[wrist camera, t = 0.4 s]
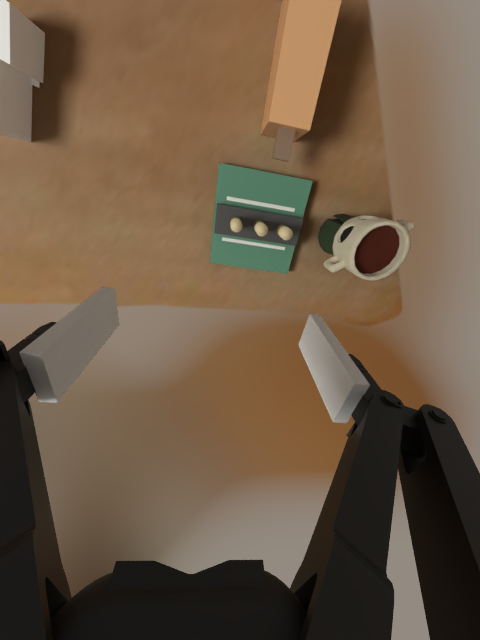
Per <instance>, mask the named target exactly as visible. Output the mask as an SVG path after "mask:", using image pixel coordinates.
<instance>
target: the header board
mask: <svg viewBox="0 0 480 640" xmlns="http://www.w3.org/2000/svg"><path fill="white" fill-rule="evenodd" d="M312 182H313V181H310V180H305V179H300V178H295V177H290V176H285V175H280V174H274V173H269V172H264V171H259V170H254V169H249V168H244V167H239V166H234V165H229V164H223V163H219V170H218V180H217V191H216V202H215V212H214V223H213V233H212V244H211V255H210V263H216V264H223V265H230V266H237V267H244V268H251V269H258V270H265V271H272V272H279V273H286V274H288V271H289V267H290V263H291V260H292V256H293V252H294V249H295V246H296V245H297V242H298V238H299V234H300V231H301V227H302V223H303V220H304V219H303V215H304V212H305V208H306V204H307V201H308V197H309V193H310V190H311V186H312Z"/></svg>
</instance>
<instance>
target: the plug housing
mask: <svg viewBox="0 0 480 640" xmlns="http://www.w3.org/2000/svg"><path fill="white" fill-rule="evenodd" d="M340 5H341V0H283V2H282V5H281V12H280V18H279V24H278V30H277V37H276V43H275V49H274V55H273V61H272V68H271V74H270V80H269V86H268V93H267V99H266V105H265V111H264V118H263V124H262V130H261V135H265V136H270V137H274V138H276V140H275V146H274V151H273V156H272V159H277V160H282V161H287V162H288V161H289V157H290V153H291V148H292V143H293V142H295V141H296V140H297V139H299V138H300V137H302V136H303V135H304V134H306V133H307V132H309V131H310V128H311V124H312V120H313V116H314V112H315V108H316V104H317V99H318V95H319V91H320V87H321V83H322V79H323V75H324V71H325V66H326V62H327V58H328V54H329V50H330V46H331V42H332V38H333V33H334V29H335V25H336V21H337V17H338V13H339V9H340Z"/></svg>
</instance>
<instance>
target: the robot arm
mask: <svg viewBox="0 0 480 640" xmlns="http://www.w3.org/2000/svg"><path fill="white" fill-rule="evenodd" d="M118 326H119V319H118V310H117V302H116V293H115V288H107V287H102V288H100V289H99V290H98V291H96V292H95V293H94V294H93V295H91V296H90V297H89V298H88V299H86V300H85V301H84V302H83V303H81V304H80V305H79V306H77V307H76V308H75V309H74V310H72V311H71V312H70V313H69V314H68V315H66V316H65V317H64V318H62V319H61V320H60V321H58V322H57V323H56V322H51V323H48V324H46V325H43V326H41V327H39V328H38V329H37V330H35V331H34V332H33V333H32V334H30V335H29V336H27V337H26V338H25V339H23V340H22V341H20V342H19V343H18V344H16V345H15V346H14V347H12V348H11V349H10V350H8V351H7V350H6V347H5V345H4V343H3V342H2V341H0V640H391V632H392V621H393V609H394V589H393V585H392V583H391V581H390V580H389V579H388V578H387V574H386V566H387V557H388V549H389V539H390V531H391V522H392V513H393V505H394V496H395V487H396V479H397V470H399V475H400V481H401V486H402V491H403V497H404V502H405V508H406V513H407V518H408V523H409V529H410V534H411V540H412V545H413V550H414V555H415V561H416V566H417V572H418V577H419V582H420V588H421V593H422V598H423V603H424V609H425V614H426V619H427V625H428V630H429V635H430V640H480V473H479V471H478V469H477V467H476V465H475V463H474V461H473V459H472V457H471V455H470V453H469V451H468V449H467V447H466V445H465V443H464V441H463V439H462V437H461V435H460V433H459V431H458V429H457V427H456V425H455V423H454V421H453V420H452V418H451V417H450V416H448V415H447V414H446V413H445V412H444V411H442V410H441V409H439V408H437V407H434V406H431V405H428V404H427V405H422V406H421V407H420V409H419V410H415V409H412V408H409V407H406V406H404V405H403V403H402V402H401V400H400V399H398V398H397V397H396V396H395V395H393V394H391V393H390V392H387V391H384V390H381V389H380V387H379V386H378V385H377V383H376V382H375V381H374V379H373V378H372V377H371V375H370V374H369V373H368V371H367V370H366V369H365V368H364V366H363V365H362V363H361V362H360V361H359V360H358V359H357V358H356V357H354V356H353V355H352V354H347V352H346V351H345V349H344V348H343V347H342V345H341V344H340V342H339V341H338V340H337V338H336V337H335V335H334V334H333V333H332V331H331V330H330V328H329V327H328V326H327V324H326V323H325V321H324V320H323V319H322V317H321V316H320V315H315V314H310V315H309V317H308V320H307V323H306V326H305V328H304V331H303V334H302V337H301V339H300V342H299V347H300V349H301V352H302V354H303V356H304V359H305V361H306V363H307V365H308V368H309V370H310V372H311V374H312V377H313V379H314V381H315V383H316V385H317V388H318V390H319V392H320V394H321V397H322V399H323V401H324V403H325V406H326V408H327V410H328V412H329V415H330V417H331V419H332V421H333V422H339V423H347V422H348V420H349V418H350V417H351V415H352V417H353V419H354V421H355V423H354V424H353V426H352V428H351V429H350V431H349V432H348V434H347V436H348V439H347V442H346V445H345V448H344V451H343V453H342V456H341V459H340V461H339V464H338V467H337V470H336V472H335V475H334V478H333V481H332V484H331V486H330V489H329V491H328V494H327V497H326V500H325V502H324V505H323V508H322V511H321V513H320V516H319V519H318V522H317V525H316V527H315V530H314V533H313V535H312V538H311V541H310V544H309V546H308V549H307V552H306V555H305V557H304V560H303V562H302V564H301V566H300V568H299V570H298V572H297V574H296V576H295V578H294V580H293V582H292V585H291V587H290V589H289V588H288V587H287V586H286V585H285V584H284V583H283V582H282V581H281V580H279V579H278V578H277V577H276V576H274V575H272V574H271V573H269V572H267V571H264V565H263V560H229V561H226V562H223V563H221V564H218V565H216V566H214V567H210V568H208V569H205V570H203V571H200V572H198V573H195V574H187V573H184V572H182V571H179V570H177V569H174V568H171V567H169V566H166V565H164V564H161V563H158V562H156V561H116V563H115V567H114V570H113V572H112V573H109V574H106V575H105V576H103V577H101V578H99V579H97V580H95V581H94V582H92V583H90V584H89V585H87V586H86V587H84V589H82V590H81V591H79V592H78V593H77V594H76V595H75V596H73V597H72V598H71V593H70V589H69V585H68V581H67V578H66V575H65V572H64V569H63V566H62V562H61V558H60V553H59V548H58V543H57V537H56V533H55V528H54V523H53V518H52V512H51V507H50V502H49V497H48V492H47V487H46V482H45V477H44V472H43V467H42V462H41V457H40V452H39V446H38V441H37V436H36V431H35V426H34V421H33V416H32V411H31V406H30V403H29V401H28V399H29V398H30V397H31V396H32V395H33V394H34V393H36V396H37V399H38V401H39V402H54V403H58V401H59V400H60V399H61V398H62V396H63V395H64V394H65V393H66V391H67V390H68V389H69V388H70V386H71V385H72V384H73V383H74V381H75V380H76V379H77V378H78V376H79V375H80V374H81V372H82V371H83V370H84V368H85V367H86V366H87V365H88V364H89V362H90V361H91V360H92V359H93V357H94V356H95V355H96V354H97V352H98V351H99V350H100V349H101V347H102V346H103V345H104V344H105V342H106V341H107V340H108V338H109V337H110V336H111V335H112V333H113V332H114V331H115V330H116V328H117V327H118Z"/></svg>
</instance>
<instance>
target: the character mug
mask: <svg viewBox="0 0 480 640" xmlns="http://www.w3.org/2000/svg"><path fill="white" fill-rule="evenodd" d="M334 217H336V218H338V219H335V220H333V221H332V220H329V219H328V220H326V221H325V223H324V224H323V225H322V227H321V228H320V232H319V236H318V239H319V243H320V246H321V248H322V249H323V250H324V251H325V252H327V253H330V254H332V255H334V256H333V257H331V258H330V259H328V260H326V261H325V262H324V267H326V268H327V269H328V270H329V271H331V272H333V273H334V272H336V271H338V270H340V269H342V268H345V269H347V270H348V271H350V272H351V273H353V274H354V275H356V276H358V277H360V278H362V279H364V280H379V279H382V278H385V277H388V276H389V275H390V274H392V273H393V272H395V271H396V270H397V269H398V268H399V267H400V266H401V264H402V263H403V262H404V261H405V259H406V257H407V254H408V252H409V249H410V235H409V233H408V232H409V231H411V230H412V229H413V228H414V226H415V225H414V224H413V223H412V222H408V221H403V220H397V221H393V220H388V219H386V218H378V217H376V216H370V215H361V216H358V217H354V218H352V217H349V216H347V215H345V214H338V215H334ZM336 262H338V263H336ZM334 263H336V264H334Z"/></svg>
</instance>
